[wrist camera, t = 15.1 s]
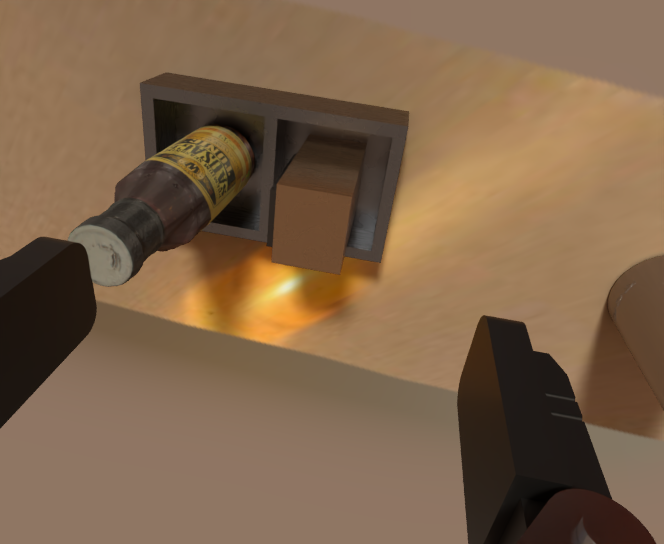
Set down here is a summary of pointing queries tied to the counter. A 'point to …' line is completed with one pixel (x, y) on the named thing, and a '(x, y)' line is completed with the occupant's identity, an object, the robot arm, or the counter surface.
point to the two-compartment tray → (292, 165)
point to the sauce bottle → (166, 202)
